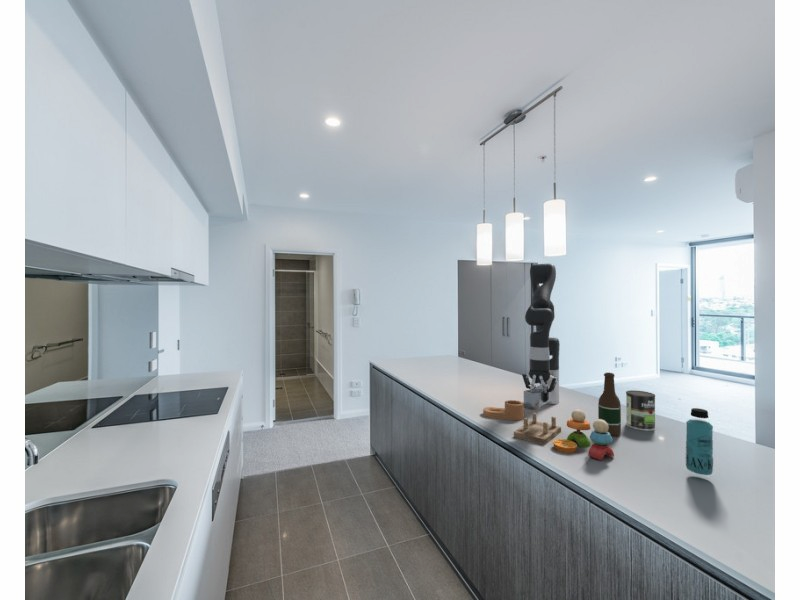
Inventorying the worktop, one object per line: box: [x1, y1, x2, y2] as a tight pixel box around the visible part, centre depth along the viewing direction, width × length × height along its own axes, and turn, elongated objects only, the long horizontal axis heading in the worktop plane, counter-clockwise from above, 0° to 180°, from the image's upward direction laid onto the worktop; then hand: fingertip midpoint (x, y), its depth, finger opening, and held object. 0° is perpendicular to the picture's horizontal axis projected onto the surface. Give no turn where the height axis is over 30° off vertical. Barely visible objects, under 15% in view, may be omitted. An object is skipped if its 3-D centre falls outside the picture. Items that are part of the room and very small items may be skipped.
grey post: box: [523, 384, 551, 411], centre depth 144 cm, size 18×6×6 cm, turn 138°
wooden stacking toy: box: [552, 408, 615, 460], centre depth 129 cm, size 18×17×12 cm
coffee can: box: [625, 389, 656, 432], centre depth 153 cm, size 10×10×14 cm
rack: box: [513, 412, 562, 446], centre depth 144 cm, size 18×12×6 cm, turn 138°
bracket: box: [482, 399, 525, 421], centre depth 167 cm, size 18×8×7 cm, turn 69°
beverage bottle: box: [684, 407, 714, 476], centre depth 110 cm, size 6×7×20 cm
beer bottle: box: [597, 372, 622, 437], centre depth 145 cm, size 8×8×24 cm
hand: (539, 400), depth 146 cm, fingers closed on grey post, 4 cm apart
